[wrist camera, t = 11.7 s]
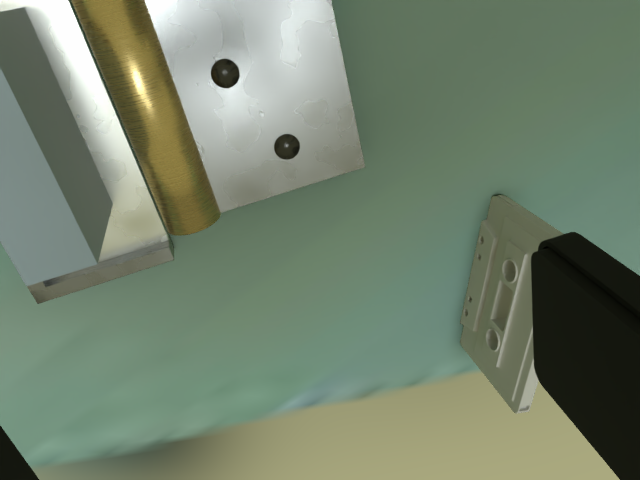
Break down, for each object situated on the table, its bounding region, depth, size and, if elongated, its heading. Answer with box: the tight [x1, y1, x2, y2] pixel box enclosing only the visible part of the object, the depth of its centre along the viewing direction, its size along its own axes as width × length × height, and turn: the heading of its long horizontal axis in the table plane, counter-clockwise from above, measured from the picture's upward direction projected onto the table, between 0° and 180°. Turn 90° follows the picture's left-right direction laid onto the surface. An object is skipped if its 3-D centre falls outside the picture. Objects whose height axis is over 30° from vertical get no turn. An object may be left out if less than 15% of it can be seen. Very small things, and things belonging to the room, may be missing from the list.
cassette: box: [460, 195, 563, 413], centre depth 35 cm, size 12×2×8 cm, turn 176°
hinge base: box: [0, 0, 365, 304], centre depth 26 cm, size 18×19×3 cm
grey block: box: [0, 7, 113, 286], centre depth 23 cm, size 3×10×7 cm, turn 13°
